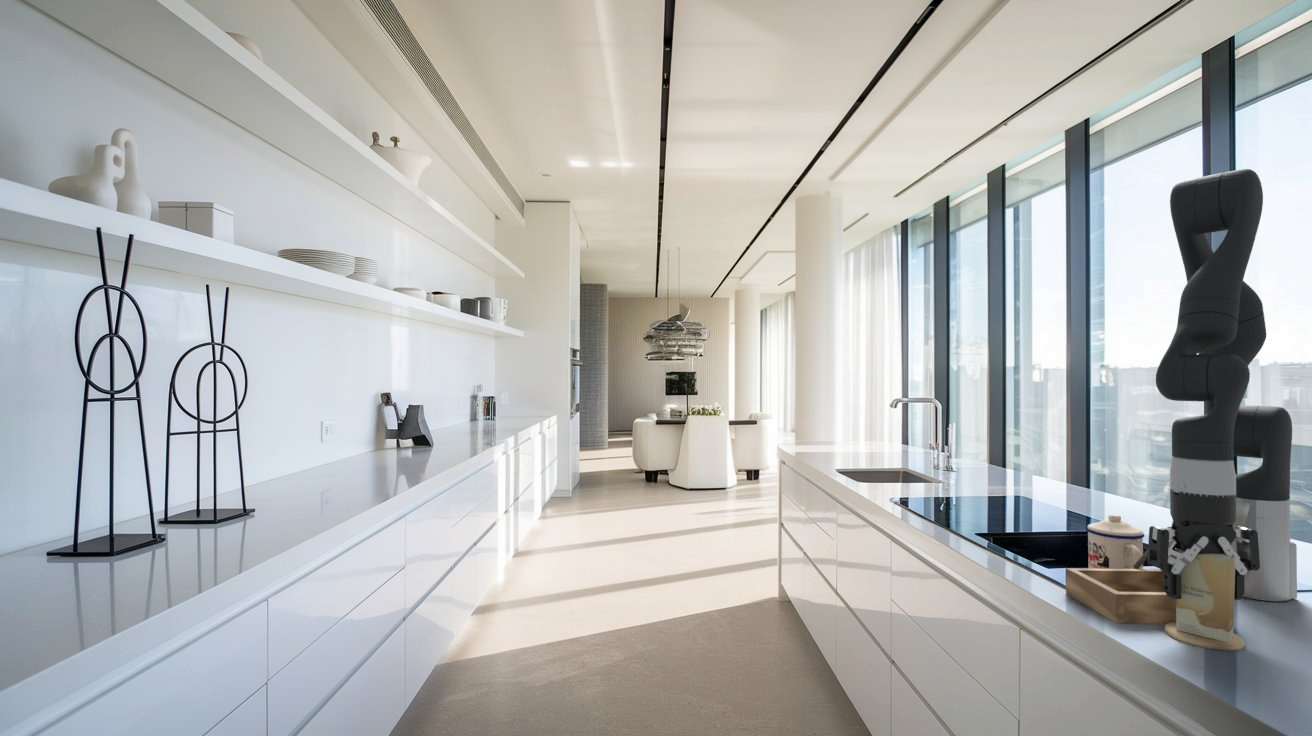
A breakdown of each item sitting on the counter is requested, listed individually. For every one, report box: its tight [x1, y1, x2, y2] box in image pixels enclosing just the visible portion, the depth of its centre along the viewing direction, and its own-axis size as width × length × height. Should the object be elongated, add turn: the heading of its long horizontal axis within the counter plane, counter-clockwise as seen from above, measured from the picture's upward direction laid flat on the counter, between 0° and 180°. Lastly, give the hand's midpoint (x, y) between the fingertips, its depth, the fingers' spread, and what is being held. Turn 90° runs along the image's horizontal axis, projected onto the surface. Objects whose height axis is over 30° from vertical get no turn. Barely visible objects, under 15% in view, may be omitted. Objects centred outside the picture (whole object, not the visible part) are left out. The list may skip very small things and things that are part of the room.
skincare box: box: [1176, 549, 1235, 643], centre depth 96 cm, size 6×4×12 cm
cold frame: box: [1065, 501, 1250, 625], centre depth 109 cm, size 21×14×19 cm
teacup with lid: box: [1086, 514, 1145, 569], centre depth 124 cm, size 12×9×12 cm
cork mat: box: [1164, 622, 1245, 652], centre depth 96 cm, size 9×9×1 cm
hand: (1203, 597), depth 96 cm, fingers open, 8 cm apart
